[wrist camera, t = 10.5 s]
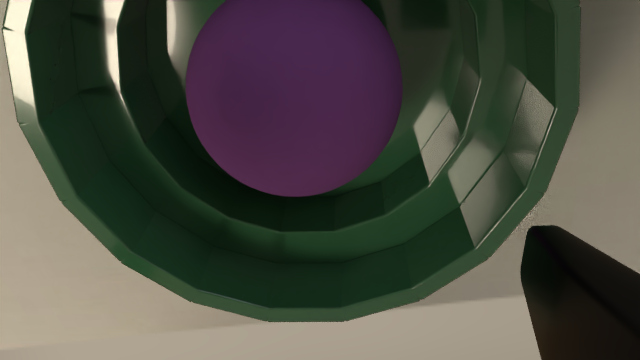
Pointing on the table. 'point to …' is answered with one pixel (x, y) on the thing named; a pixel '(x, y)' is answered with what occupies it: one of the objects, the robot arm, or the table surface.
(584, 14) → the table surface
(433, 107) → the bowl
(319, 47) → the ball
